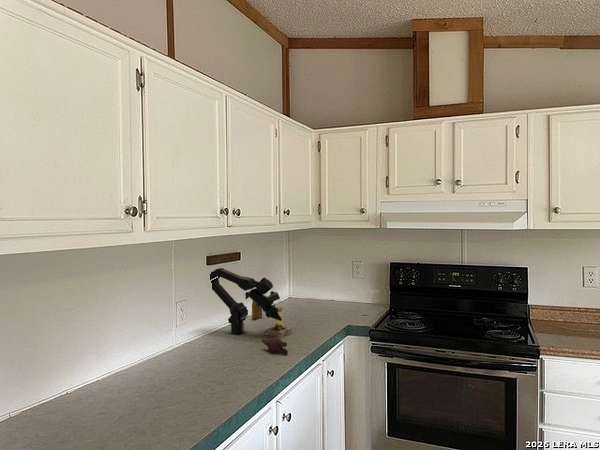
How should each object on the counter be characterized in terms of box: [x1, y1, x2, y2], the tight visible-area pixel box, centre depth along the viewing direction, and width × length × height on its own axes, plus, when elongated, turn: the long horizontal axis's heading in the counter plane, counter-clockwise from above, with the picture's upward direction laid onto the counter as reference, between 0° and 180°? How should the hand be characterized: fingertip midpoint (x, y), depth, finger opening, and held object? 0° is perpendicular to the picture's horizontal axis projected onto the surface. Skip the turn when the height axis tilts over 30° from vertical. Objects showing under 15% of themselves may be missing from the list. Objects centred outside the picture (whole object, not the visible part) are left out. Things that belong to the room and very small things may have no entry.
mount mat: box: [261, 325, 275, 331], centre depth 228 cm, size 9×9×1 cm
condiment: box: [248, 299, 263, 321], centre depth 252 cm, size 7×8×12 cm
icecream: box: [261, 336, 289, 355], centre depth 191 cm, size 7×7×15 cm
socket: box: [264, 325, 293, 338], centre depth 219 cm, size 10×10×3 cm
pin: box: [274, 306, 284, 331], centre depth 218 cm, size 4×4×12 cm
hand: (281, 319), depth 219 cm, fingers closed on pin, 4 cm apart
